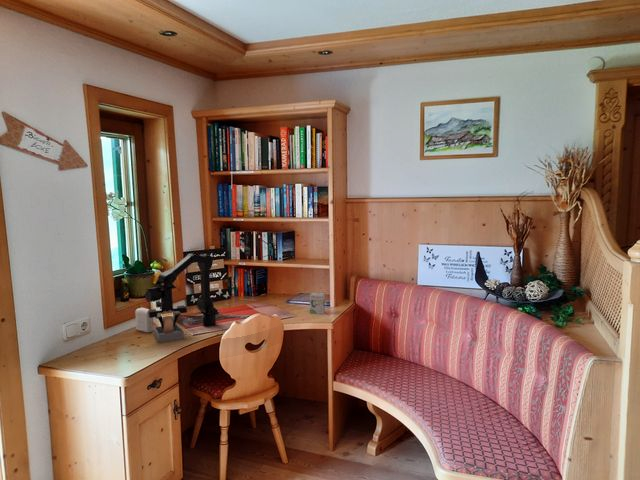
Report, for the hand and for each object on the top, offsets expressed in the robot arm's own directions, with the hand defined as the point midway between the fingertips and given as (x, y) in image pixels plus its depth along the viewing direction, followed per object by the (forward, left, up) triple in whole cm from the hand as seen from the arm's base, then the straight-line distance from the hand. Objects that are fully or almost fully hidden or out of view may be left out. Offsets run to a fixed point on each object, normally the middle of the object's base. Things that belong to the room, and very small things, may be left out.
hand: (168, 327), depth 239 cm
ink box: (-87, +2, -5) cm, 87 cm away
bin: (0, 0, -5) cm, 5 cm away
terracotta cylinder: (0, 0, -2) cm, 3 cm away
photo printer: (+9, -17, -5) cm, 20 cm away
